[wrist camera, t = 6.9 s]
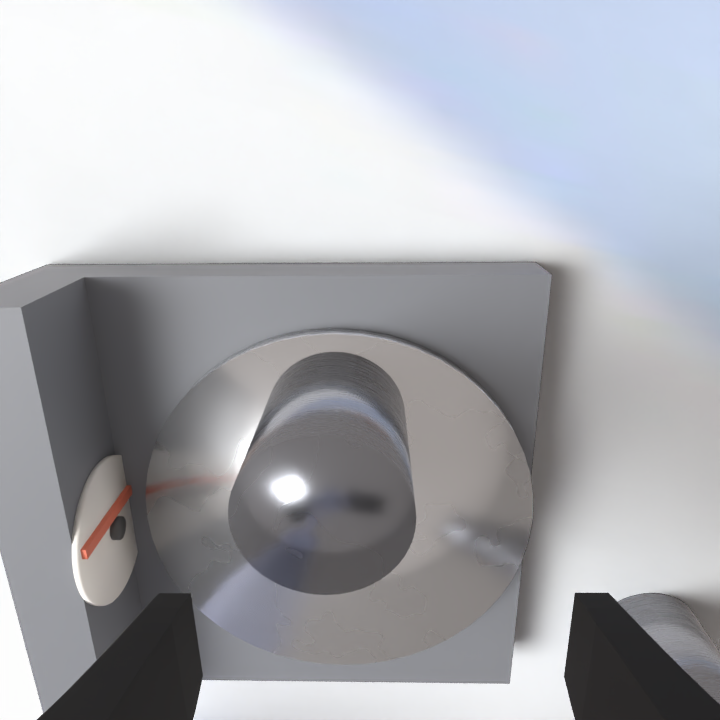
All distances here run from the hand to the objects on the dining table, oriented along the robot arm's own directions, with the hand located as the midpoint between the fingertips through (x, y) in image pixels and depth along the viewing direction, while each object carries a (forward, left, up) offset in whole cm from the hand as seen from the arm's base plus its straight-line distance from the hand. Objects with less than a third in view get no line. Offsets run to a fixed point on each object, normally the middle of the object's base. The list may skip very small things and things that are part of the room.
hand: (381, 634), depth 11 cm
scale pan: (-2, +1, -8) cm, 8 cm away
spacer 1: (+1, +1, -7) cm, 7 cm away
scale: (-2, +3, -9) cm, 10 cm away
